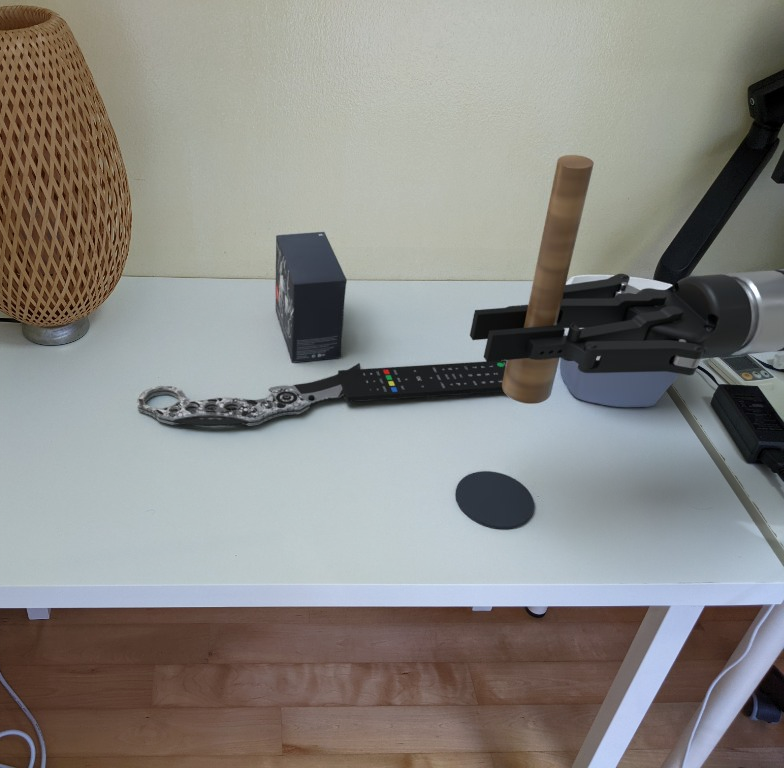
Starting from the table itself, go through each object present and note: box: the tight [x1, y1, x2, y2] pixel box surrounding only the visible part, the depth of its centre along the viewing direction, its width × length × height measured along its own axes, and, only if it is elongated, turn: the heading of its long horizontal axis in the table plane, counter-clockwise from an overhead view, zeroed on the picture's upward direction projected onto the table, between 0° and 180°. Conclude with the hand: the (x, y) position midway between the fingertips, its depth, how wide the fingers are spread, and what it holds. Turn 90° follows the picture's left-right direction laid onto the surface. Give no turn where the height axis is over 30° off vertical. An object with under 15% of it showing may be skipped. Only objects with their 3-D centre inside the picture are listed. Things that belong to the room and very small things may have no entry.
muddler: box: [502, 154, 595, 405], centre depth 65 cm, size 4×4×22 cm
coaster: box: [454, 470, 535, 530], centre depth 81 cm, size 8×8×1 cm
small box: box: [274, 231, 348, 363], centre depth 101 cm, size 13×7×12 cm, turn 10°
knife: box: [136, 362, 362, 427], centre depth 93 cm, size 28×2×10 cm
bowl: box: [559, 274, 680, 408], centre depth 94 cm, size 15×15×11 cm
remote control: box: [337, 360, 507, 403], centre depth 95 cm, size 5×24×1 cm, turn 98°
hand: (481, 335), depth 67 cm, fingers closed on muddler, 3 cm apart
